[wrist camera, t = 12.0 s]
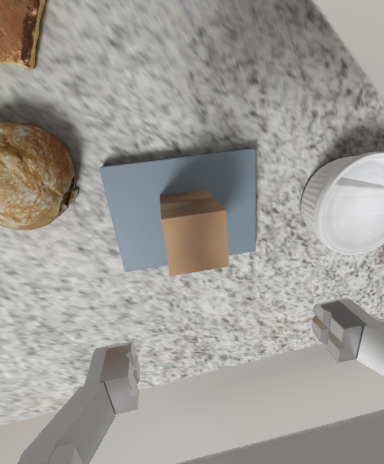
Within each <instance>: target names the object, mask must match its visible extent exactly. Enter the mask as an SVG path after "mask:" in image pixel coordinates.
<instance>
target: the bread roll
mask: <svg viewBox="0 0 384 464" xmlns="http://www.w3.org/2000/svg"><path fill="white" fill-rule="evenodd" d="M77 195H78V189H76V188H75V166H74V163H73V160H72V157H71V154H70V152H69V151H68V149H67V148H66V147H65V146H64V145H63V143H62V142H61V141H60V140H59V139H58V138H56V137H55V136H54V135H53V134H51V133H49V132H48V131H46V130H44V129H42V128H40V127H36V126H34V125H31V124H20V123H13V122H0V225H1V226H4V227H7V228H12V229H15V230H30V229H35V228H39V227H42V226H45V225H48V224H50V223H51V222H52V221H54V220H55V219H56V218H58V217H59V216H60V215H61V214H62V213H63V212H64V211H65V210H66V209H67V208H69V206H68V204H70V203H72V202H73V201H74V200H75V199H76V198H77Z"/></svg>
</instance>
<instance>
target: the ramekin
mask: <svg viewBox="0 0 384 464" xmlns="http://www.w3.org/2000/svg"><path fill="white" fill-rule="evenodd" d="M301 204H302V205H301V209H302V215H303V218H304V221H305V223H306V224H307V226H308V227H309V228H310V229H311V230H312V231H313V232H314V233H315V234H316V235H317V236H318V237H319V239H320V240H321V242H322V243H323V244H324V245H325V246H327V247H328V248H329V249H331V250H332V251H334V252H337V253H340V254H345V255H356V254H362V253H365V252H368V251H371V250H373V249H375V248H377V247H379V246H380V245H382V244H383V243H384V152H369V153H365V154H361V155H358V156H351V157H345V158H339V159H337V160H334V161H332V162H330V163H328V164H326V165H325V166H323V167H322V168H320V169H319V170H318V171H317V172H316V173H315V174H314V175H313V176H312V178H311V179H310V181H309V182H308V184H307V186H306V188H305V190H304V193H303V197H302V202H301Z"/></svg>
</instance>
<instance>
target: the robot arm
mask: <svg viewBox="0 0 384 464" xmlns="http://www.w3.org/2000/svg"><path fill="white" fill-rule="evenodd" d="M313 313H314V314H315V316H314V318H313V319H312V329H313V332H314V334H315V336H316V337H317V338H318V340H319V341H321V342H323V343H324V344H326V345H327V350H328V352H329V353H330V354H331V355H332V356H333V357H334V359H335V360H336V361H337V362H343V361H348V360H353V359H357V360H358V361H360V362H361V363H363V364H364V365H366V366H368V367H370V368H371V369H373V370H374V371H376V372H378V373H379V374H381V375H383V376H384V322H378V321H377V320H375V319H374V318H373V317H372V316H370V315H369V314H368V313H367V312H365V311H364V310H363V309H362V308H360V307H359V306H358V305H357V304H355V303H354V302H353V301H352V300H350V299H348V298H344V299H339V300H336V301H330V302H325V303H321V304H316V305H315V306H314V307H313ZM139 381H140V368H139V360H138V356H137V355H135V345H134V342H128V343H122V344H116V345H111V346H107V347H101V348H96V349H95V351H94V353H93V356H92V360H91V363H90V367H89V371H88V374H87V378H86V381H85V385H84V386H83V387H80V388H79V389H78V390H77V391H76V393H75V394H74V395H73V396H72V397H71V398H70V399H69V401H68V402H67V403H66V404H65V405H64V406H63V407H62V409H61V410H60V411H59V412H58V413H57V414H56V415H55V417H54V418H53V419H52V420H51V421H50V422H49V424H48V425H47V426H46V427H45V428H44V429H43V430H42V432H41V433H40V434H39V435H38V436H37V437H36V438H35V439H34V441H33V442H32V443H31V444H30V445H29V446H28V447H27V449H26V450H25V451H24V452H23V453H22V455H21V457H20V460H19V462H18V464H89V463H90V461H91V459H92V458H93V456H94V454H95V452H96V450H97V449H98V447H99V445H100V443H101V442H102V440H103V438H104V436H105V434H106V433H107V431H108V429H109V427H110V425H111V424H112V422H113V420H114V418H115V417H116V416H115V415H116V414H121V413H124V412H128V411H132V410H136V409H138V399H139V390H138V386H137V384H138V382H139ZM177 464H384V409H383V410H380V411H376V412H372V413H368V414H364V415H361V416H357V417H353V418H349V419H345V420H342V421H337V422H334V423H330V424H326V425H322V426H318V427H314V428H311V429H307V430H303V431H299V432H295V433H292V434H288V435H284V436H280V437H277V438H272V439H269V440H265V441H261V442H257V443H253V444H250V445H246V446H242V447H238V448H234V449H231V450H227V451H223V452H219V453H216V454H211V455H208V456H204V457H200V458H196V459H193V460H188V461H185V462H181V463H177Z"/></svg>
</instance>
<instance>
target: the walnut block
mask: <svg viewBox="0 0 384 464" xmlns="http://www.w3.org/2000/svg"><path fill="white" fill-rule="evenodd" d="M160 210H161V222H162V228H163V235H164V241H165V247H166V253H167V259H168V265H169V271H170V276H174V275H180V274H186V273H192V272H198V271H204V270H210V269H216V268H222V267H228V266H229V261H228V241H227V222H226V210H225V209H224V208H223V207H222V206H221V205H220V204H219V203H218V202H217V200H216V199H215V198H214V197H213V196H212V195H211V194H210V193H209V192H208V191H207V190H206V189H205V190H197V191H190V192H183V193H175V194H168V195H160Z"/></svg>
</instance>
